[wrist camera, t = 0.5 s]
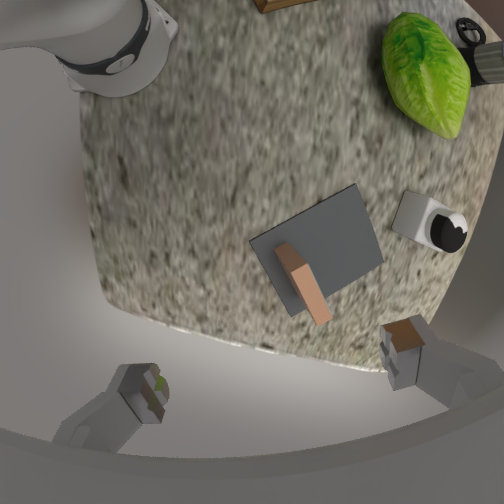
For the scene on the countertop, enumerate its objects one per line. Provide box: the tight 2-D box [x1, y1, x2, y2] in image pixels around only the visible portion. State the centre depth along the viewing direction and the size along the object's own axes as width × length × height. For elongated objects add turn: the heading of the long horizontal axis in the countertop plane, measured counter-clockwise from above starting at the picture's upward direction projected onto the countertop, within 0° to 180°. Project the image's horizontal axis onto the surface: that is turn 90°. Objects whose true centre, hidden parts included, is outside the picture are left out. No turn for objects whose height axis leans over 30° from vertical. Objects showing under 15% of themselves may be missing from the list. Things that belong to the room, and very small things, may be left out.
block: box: [274, 242, 332, 326], centre depth 47 cm, size 10×3×10 cm, turn 27°
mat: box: [249, 184, 384, 317], centre depth 52 cm, size 16×20×1 cm
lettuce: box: [381, 12, 471, 140], centre depth 38 cm, size 15×23×16 cm
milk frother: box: [457, 18, 504, 87], centre depth 37 cm, size 14×16×15 cm
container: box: [392, 191, 467, 253], centre depth 47 cm, size 8×8×13 cm
